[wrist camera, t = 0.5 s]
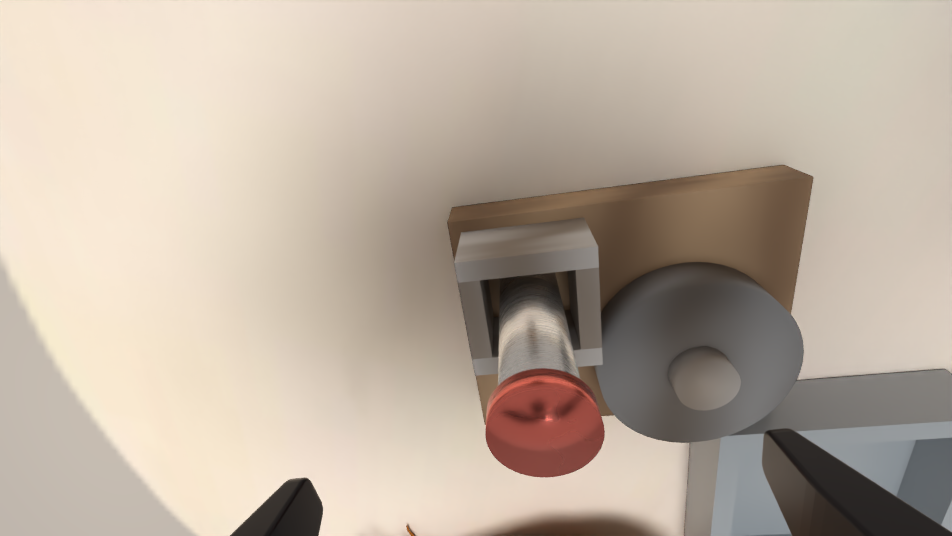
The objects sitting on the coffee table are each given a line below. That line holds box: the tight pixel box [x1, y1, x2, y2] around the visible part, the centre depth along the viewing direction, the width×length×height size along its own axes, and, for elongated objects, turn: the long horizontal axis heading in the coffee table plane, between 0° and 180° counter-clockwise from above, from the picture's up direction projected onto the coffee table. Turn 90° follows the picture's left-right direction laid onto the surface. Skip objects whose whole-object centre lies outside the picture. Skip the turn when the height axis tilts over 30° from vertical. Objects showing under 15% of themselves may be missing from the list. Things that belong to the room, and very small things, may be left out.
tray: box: [684, 369, 952, 536], centre depth 24 cm, size 12×12×3 cm
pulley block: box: [447, 165, 813, 443], centre depth 20 cm, size 14×11×5 cm
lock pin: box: [486, 272, 605, 477], centre depth 15 cm, size 3×3×9 cm
